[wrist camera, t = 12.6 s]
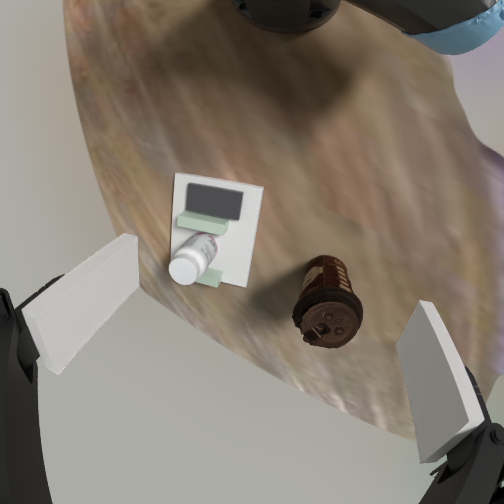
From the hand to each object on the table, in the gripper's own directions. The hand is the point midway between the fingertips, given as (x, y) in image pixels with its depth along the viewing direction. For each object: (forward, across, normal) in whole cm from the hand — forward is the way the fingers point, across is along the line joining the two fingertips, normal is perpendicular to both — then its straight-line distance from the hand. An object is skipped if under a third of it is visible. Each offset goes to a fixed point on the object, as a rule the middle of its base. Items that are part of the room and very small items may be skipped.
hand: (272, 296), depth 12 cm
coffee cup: (+29, +7, -13) cm, 32 cm away
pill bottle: (+28, -12, -12) cm, 33 cm away
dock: (+29, -11, -10) cm, 32 cm away
